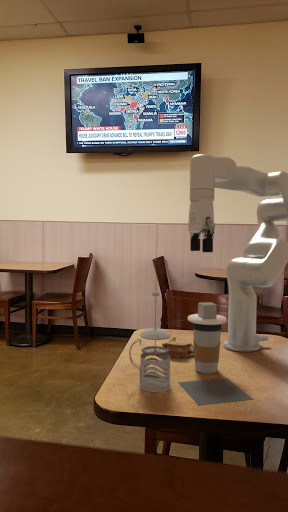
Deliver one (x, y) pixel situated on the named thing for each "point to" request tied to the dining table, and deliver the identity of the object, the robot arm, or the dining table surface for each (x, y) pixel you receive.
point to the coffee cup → (206, 347)
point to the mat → (214, 391)
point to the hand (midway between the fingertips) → (201, 251)
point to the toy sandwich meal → (179, 348)
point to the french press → (153, 379)
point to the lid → (207, 315)
